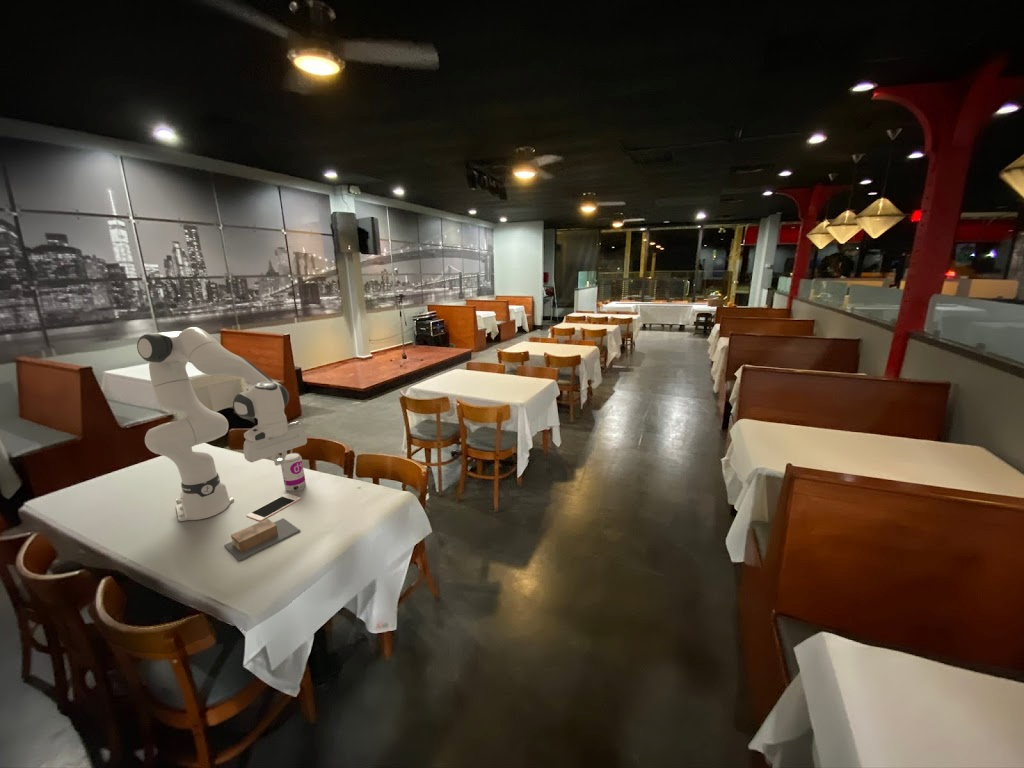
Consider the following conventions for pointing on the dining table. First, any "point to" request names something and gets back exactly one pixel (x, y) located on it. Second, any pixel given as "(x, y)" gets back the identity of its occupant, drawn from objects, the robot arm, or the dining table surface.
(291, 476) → the supplement can
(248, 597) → the dining table surface
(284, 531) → the rubber mat
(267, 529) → the walnut block
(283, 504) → the cell phone
